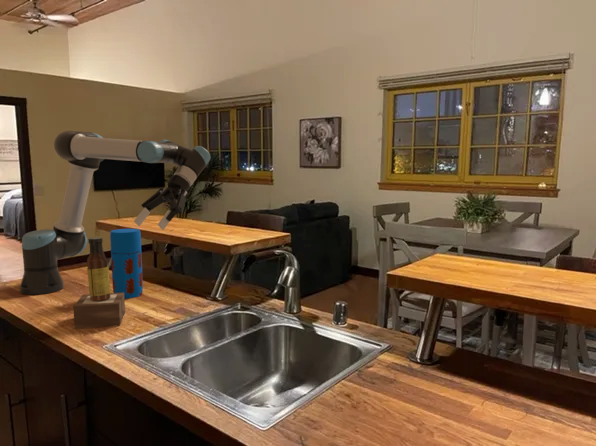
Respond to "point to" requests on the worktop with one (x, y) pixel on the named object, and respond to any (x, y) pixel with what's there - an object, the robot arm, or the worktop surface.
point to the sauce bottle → (98, 271)
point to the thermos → (126, 262)
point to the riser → (99, 311)
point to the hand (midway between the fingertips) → (148, 225)
